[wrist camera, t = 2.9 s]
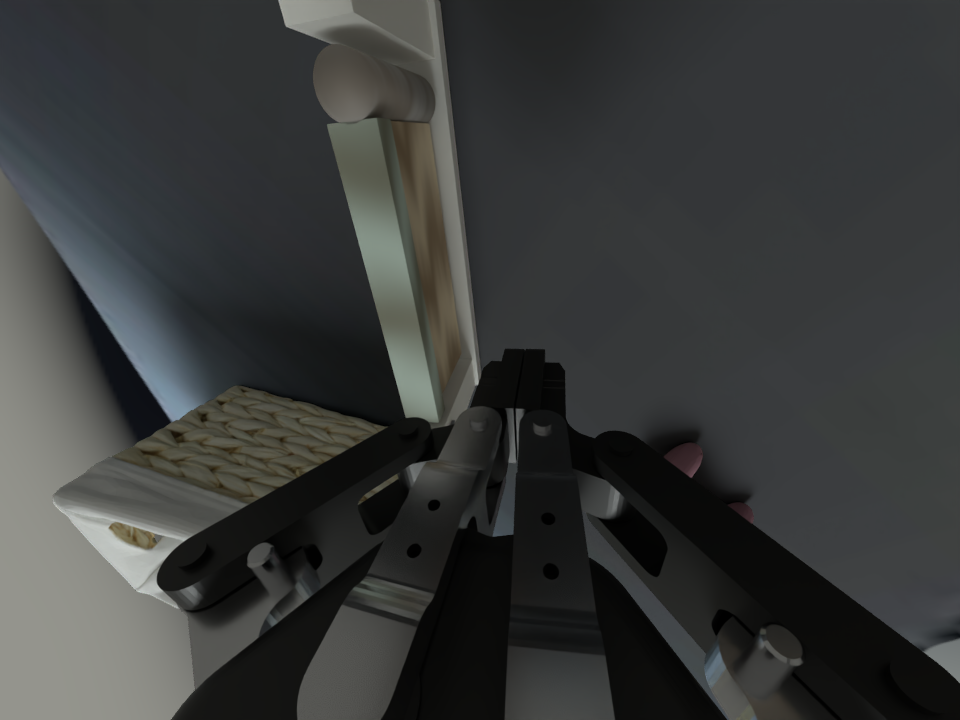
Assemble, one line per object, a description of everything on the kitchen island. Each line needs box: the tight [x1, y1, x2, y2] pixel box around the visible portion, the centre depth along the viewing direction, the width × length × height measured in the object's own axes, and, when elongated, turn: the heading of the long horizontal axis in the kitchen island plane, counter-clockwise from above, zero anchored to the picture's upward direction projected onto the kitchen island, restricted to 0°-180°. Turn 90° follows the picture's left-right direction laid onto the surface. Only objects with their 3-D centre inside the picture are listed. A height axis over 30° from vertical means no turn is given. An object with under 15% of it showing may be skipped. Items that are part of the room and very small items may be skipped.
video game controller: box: [664, 442, 754, 523], centre depth 28 cm, size 10×5×7 cm, turn 44°
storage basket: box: [52, 385, 398, 609], centre depth 32 cm, size 24×16×15 cm
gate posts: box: [279, 0, 481, 429], centre depth 19 cm, size 22×3×9 cm, turn 5°
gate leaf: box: [313, 44, 462, 423], centre depth 19 cm, size 16×2×7 cm, turn 5°
